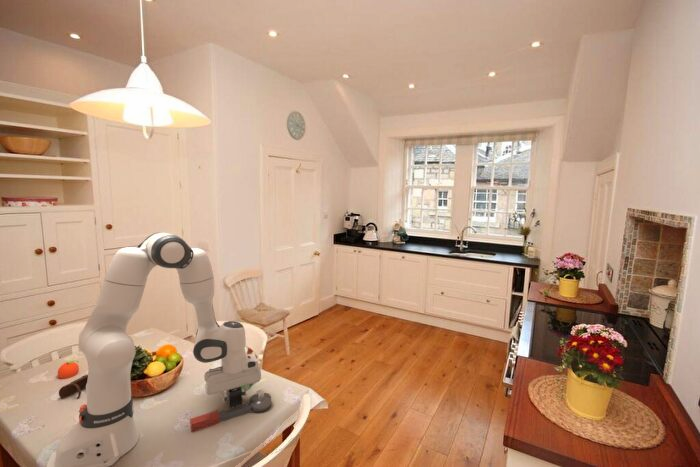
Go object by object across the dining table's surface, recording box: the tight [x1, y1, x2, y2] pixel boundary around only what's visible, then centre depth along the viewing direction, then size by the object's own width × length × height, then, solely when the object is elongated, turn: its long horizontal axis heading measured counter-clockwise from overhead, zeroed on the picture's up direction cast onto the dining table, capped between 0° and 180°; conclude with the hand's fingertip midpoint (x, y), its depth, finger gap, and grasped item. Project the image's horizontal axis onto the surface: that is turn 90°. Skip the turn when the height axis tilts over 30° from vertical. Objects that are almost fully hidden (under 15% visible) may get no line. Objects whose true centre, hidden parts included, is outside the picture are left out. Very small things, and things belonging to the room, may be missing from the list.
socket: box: [226, 387, 243, 409], centre depth 125 cm, size 5×5×6 cm
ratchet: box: [189, 388, 272, 432], centre depth 118 cm, size 28×8×6 cm, turn 122°
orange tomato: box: [57, 360, 80, 380], centre depth 139 cm, size 8×7×7 cm
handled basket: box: [58, 374, 88, 400], centre depth 126 cm, size 18×12×7 cm, turn 73°
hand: (234, 397), depth 125 cm, fingers open, 6 cm apart
